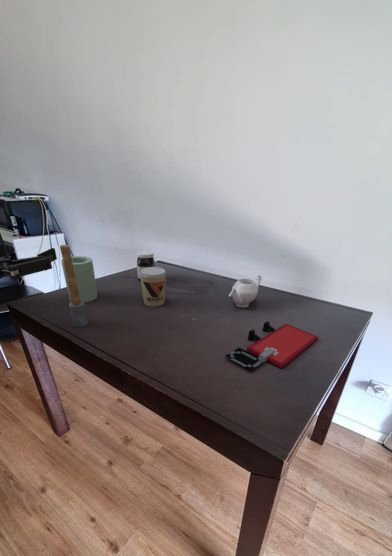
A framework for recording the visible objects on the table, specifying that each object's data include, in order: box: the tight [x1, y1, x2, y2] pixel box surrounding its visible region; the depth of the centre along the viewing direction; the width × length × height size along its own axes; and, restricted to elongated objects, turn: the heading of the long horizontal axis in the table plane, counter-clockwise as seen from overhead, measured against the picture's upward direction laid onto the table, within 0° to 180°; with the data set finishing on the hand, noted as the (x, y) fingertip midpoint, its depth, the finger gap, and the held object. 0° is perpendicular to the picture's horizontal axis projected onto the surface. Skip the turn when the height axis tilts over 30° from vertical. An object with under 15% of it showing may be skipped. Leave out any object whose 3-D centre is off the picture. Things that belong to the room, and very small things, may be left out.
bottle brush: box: [59, 244, 89, 328], centre depth 83 cm, size 4×4×24 cm
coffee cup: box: [140, 266, 167, 307], centre depth 103 cm, size 9×9×12 cm
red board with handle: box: [225, 320, 319, 371], centre depth 82 cm, size 30×3×15 cm
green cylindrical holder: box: [60, 255, 99, 303], centre depth 104 cm, size 10×10×14 cm
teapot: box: [228, 275, 262, 308], centre depth 106 cm, size 10×20×9 cm, turn 138°
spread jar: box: [136, 250, 161, 282], centre depth 124 cm, size 12×11×12 cm
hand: (28, 251), depth 73 cm, fingers open, 13 cm apart
